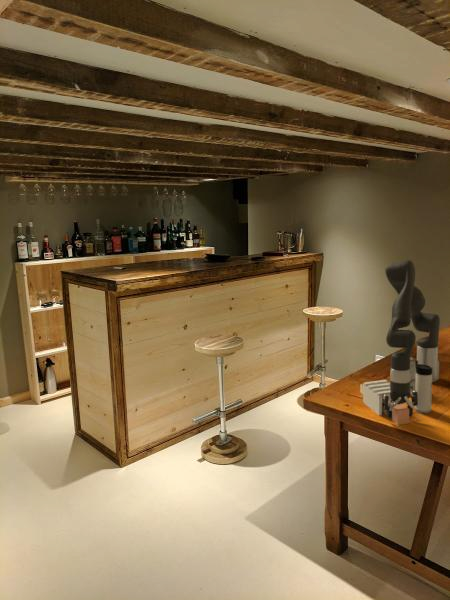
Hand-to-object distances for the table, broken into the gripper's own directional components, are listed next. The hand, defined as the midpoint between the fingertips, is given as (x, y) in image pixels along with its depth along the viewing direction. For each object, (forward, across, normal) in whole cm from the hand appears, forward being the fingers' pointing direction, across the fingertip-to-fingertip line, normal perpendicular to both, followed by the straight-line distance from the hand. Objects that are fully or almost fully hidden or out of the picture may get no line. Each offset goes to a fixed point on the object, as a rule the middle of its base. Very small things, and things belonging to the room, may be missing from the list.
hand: (399, 417), depth 181 cm
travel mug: (+2, -14, -6) cm, 16 cm away
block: (+2, 0, 0) cm, 2 cm away
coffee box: (+2, -19, -26) cm, 32 cm away
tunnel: (+2, 0, -14) cm, 14 cm away
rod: (+2, 0, -18) cm, 18 cm away
